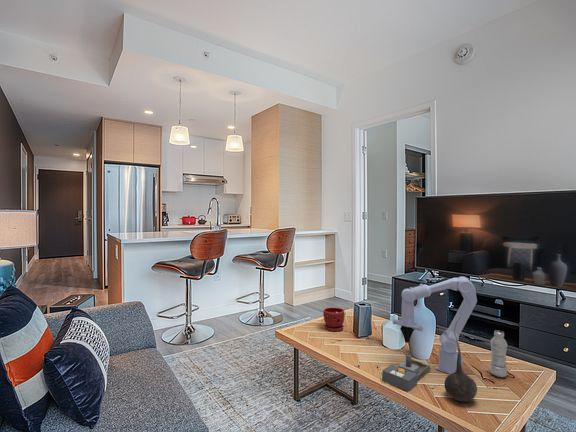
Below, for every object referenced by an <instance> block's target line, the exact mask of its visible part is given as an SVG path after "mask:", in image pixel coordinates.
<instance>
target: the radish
mask: <svg viewBox="0 0 576 432" xmlns="http://www.w3.org/2000/svg"><path fill="white" fill-rule="evenodd" d="M457 322H458V321H457ZM457 322H456V324H457ZM455 327H456V325H455ZM454 334H455V328H454ZM455 337H456V334H455ZM456 341H457V353H458V356H457V369H456V371H455V372H454V373H452V374H448V375H447V376H446V378H445V380H444V389H445V392H446V394H448V396H449V397H451V398H452V399H453V400H456V401H458V402H464V403H465V402H469V401H472V400H473V399H475V397H476V396H477V393H478V386H477V383H476V381H475V380H474V379H473V378H472V377H470V376H469V375H468V374H466V373H465V372H464V370H463V364H462V365H461V355H462V354H461V353H462V351H461V348H460V343H459V340H457V337H456Z"/></svg>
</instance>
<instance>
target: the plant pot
mask: <svg viewBox="0 0 576 432" xmlns="http://www.w3.org/2000/svg"><path fill="white" fill-rule="evenodd" d="M322 312H323V320H324V323H325V325H324V327H325V328H324V329H326V330H327V331H329V332H340V331H342V330H343V329H344V325H343V324H344V322H345V310H344V308H341V307H327V308H324V309H323V311H322Z"/></svg>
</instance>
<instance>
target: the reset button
mask: <svg viewBox="0 0 576 432" xmlns="http://www.w3.org/2000/svg"><path fill="white" fill-rule="evenodd" d="M398 372H399V373H402V374H404V373H405V370H404V369H403V368H398Z"/></svg>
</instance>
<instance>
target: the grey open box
mask: <svg viewBox="0 0 576 432" xmlns="http://www.w3.org/2000/svg"><path fill="white" fill-rule="evenodd" d="M398 368H400V367H398V365H394V364H389V365H388V366H386V367H385V368H384V369H382V370H381V372H382V373H381V381H382V382H384V383H387V384H389V385H392V386H395V387H396V388H398V389H400V390H401V389H402V390H404V391H406V392H410V391H411V390H412V389H414V388H415V387H417V386H418V382H417V374H416V373H413V372H410V371H408V370H405V369H404V370H405V373H404V374H402V373H399V372H398Z"/></svg>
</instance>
